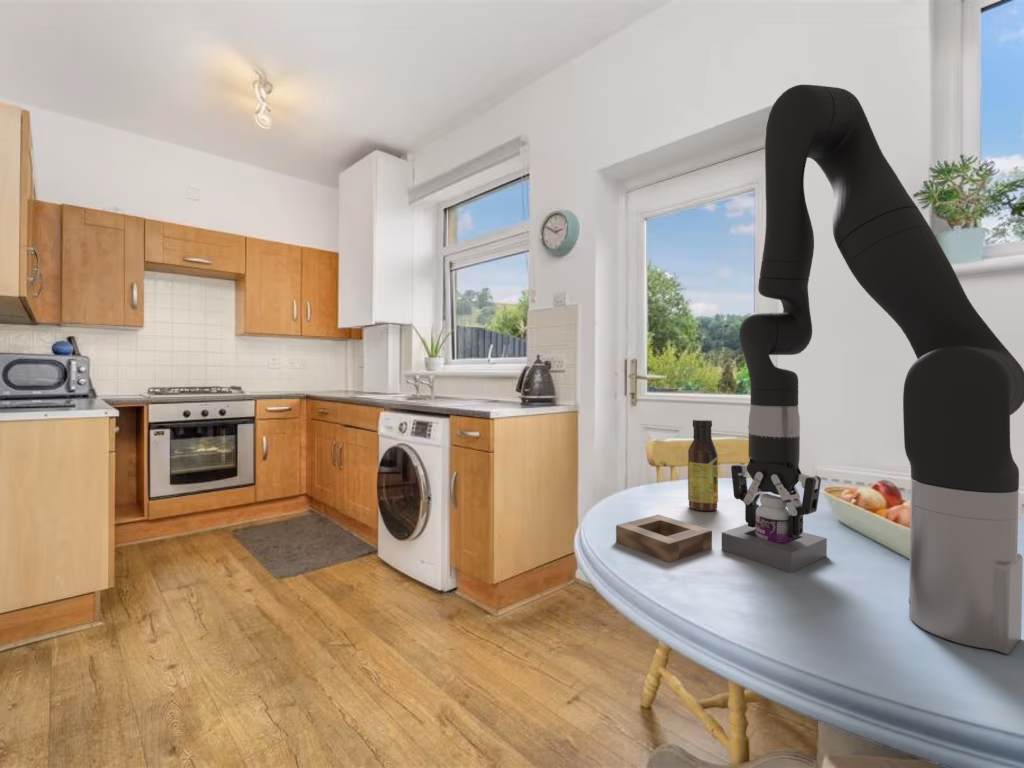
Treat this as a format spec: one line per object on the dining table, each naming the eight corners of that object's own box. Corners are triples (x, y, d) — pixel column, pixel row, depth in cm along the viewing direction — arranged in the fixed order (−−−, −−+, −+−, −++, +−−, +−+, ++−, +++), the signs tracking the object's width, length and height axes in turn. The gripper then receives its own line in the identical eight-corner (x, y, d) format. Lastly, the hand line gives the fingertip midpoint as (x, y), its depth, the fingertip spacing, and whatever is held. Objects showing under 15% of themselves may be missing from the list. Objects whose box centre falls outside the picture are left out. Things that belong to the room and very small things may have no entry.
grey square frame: (826, 556, 79) (826, 538, 79) (791, 572, 73) (791, 552, 73) (758, 536, 89) (758, 520, 89) (721, 549, 82) (721, 532, 82)
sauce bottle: (720, 513, 104) (721, 421, 103) (690, 511, 105) (690, 421, 105) (714, 504, 110) (714, 418, 110) (685, 503, 112) (686, 418, 111)
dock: (711, 547, 83) (712, 530, 83) (668, 562, 77) (669, 543, 77) (658, 529, 93) (658, 514, 93) (616, 541, 87) (616, 525, 86)
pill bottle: (747, 549, 83) (748, 493, 82) (772, 545, 84) (772, 491, 84) (773, 560, 78) (774, 501, 77) (799, 557, 79) (799, 498, 79)
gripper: (831, 435, 77) (830, 539, 77) (744, 426, 88) (744, 517, 89) (808, 438, 72) (807, 549, 73) (720, 429, 84) (720, 524, 85)
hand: (772, 531), depth 81 cm, fingers open, 6 cm apart
